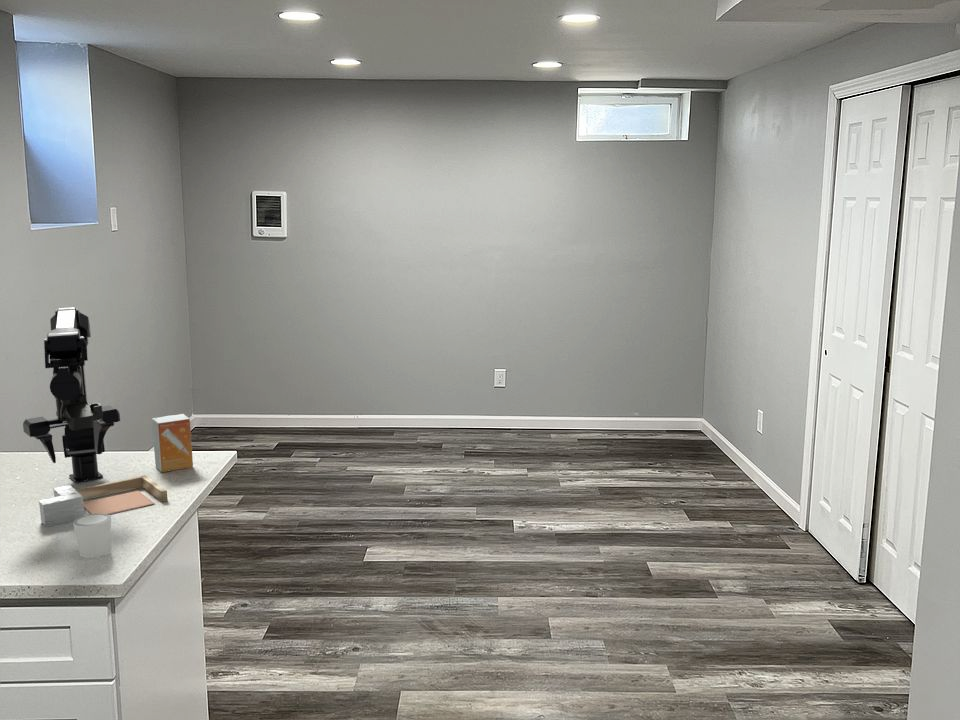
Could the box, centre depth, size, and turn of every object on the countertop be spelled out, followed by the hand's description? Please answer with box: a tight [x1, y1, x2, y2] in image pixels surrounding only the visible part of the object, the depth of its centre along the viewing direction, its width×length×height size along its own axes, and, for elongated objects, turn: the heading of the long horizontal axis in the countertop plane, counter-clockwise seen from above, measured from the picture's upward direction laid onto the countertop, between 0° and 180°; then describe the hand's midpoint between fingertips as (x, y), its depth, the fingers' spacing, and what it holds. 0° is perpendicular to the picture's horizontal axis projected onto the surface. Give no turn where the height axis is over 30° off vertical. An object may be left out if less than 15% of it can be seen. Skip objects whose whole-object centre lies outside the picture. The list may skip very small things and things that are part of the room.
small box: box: [151, 413, 194, 473], centre depth 230 cm, size 8×6×13 cm
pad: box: [83, 490, 155, 515], centre depth 205 cm, size 11×13×1 cm
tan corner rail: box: [74, 474, 169, 503], centre depth 207 cm, size 15×18×2 cm
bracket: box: [38, 484, 85, 528], centre depth 197 cm, size 10×8×5 cm
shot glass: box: [72, 513, 112, 559], centre depth 177 cm, size 7×7×7 cm
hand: (76, 458), depth 199 cm, fingers open, 9 cm apart
